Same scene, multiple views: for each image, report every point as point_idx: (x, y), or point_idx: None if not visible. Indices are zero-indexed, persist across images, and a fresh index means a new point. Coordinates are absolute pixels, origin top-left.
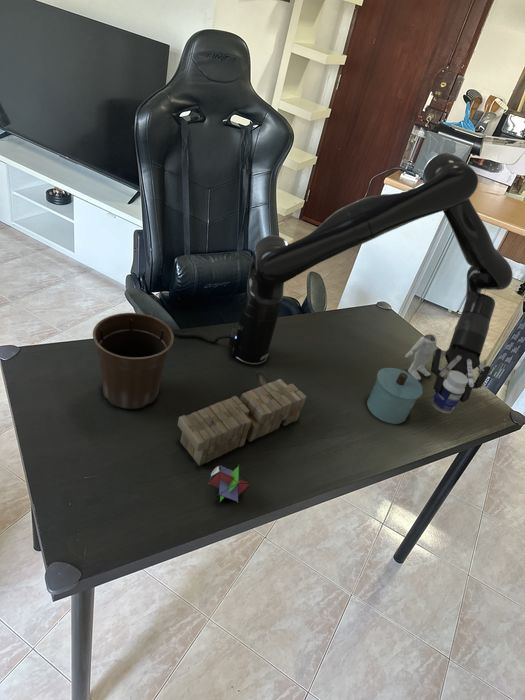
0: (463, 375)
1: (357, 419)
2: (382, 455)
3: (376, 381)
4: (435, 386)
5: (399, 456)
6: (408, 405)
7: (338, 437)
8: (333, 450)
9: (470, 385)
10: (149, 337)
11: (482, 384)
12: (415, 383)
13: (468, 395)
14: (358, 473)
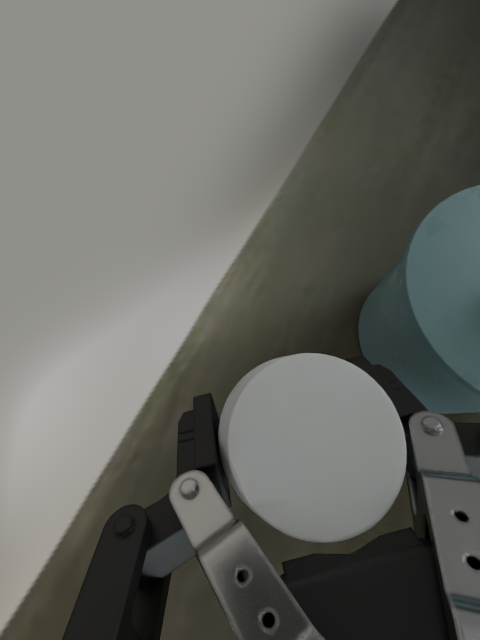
0: (286, 506)
1: None
2: (344, 152)
3: None
4: (386, 370)
5: (307, 179)
6: (403, 258)
7: (462, 128)
8: (443, 89)
9: (194, 481)
10: None
11: (96, 548)
12: (477, 350)
13: (185, 433)
14: (362, 74)
